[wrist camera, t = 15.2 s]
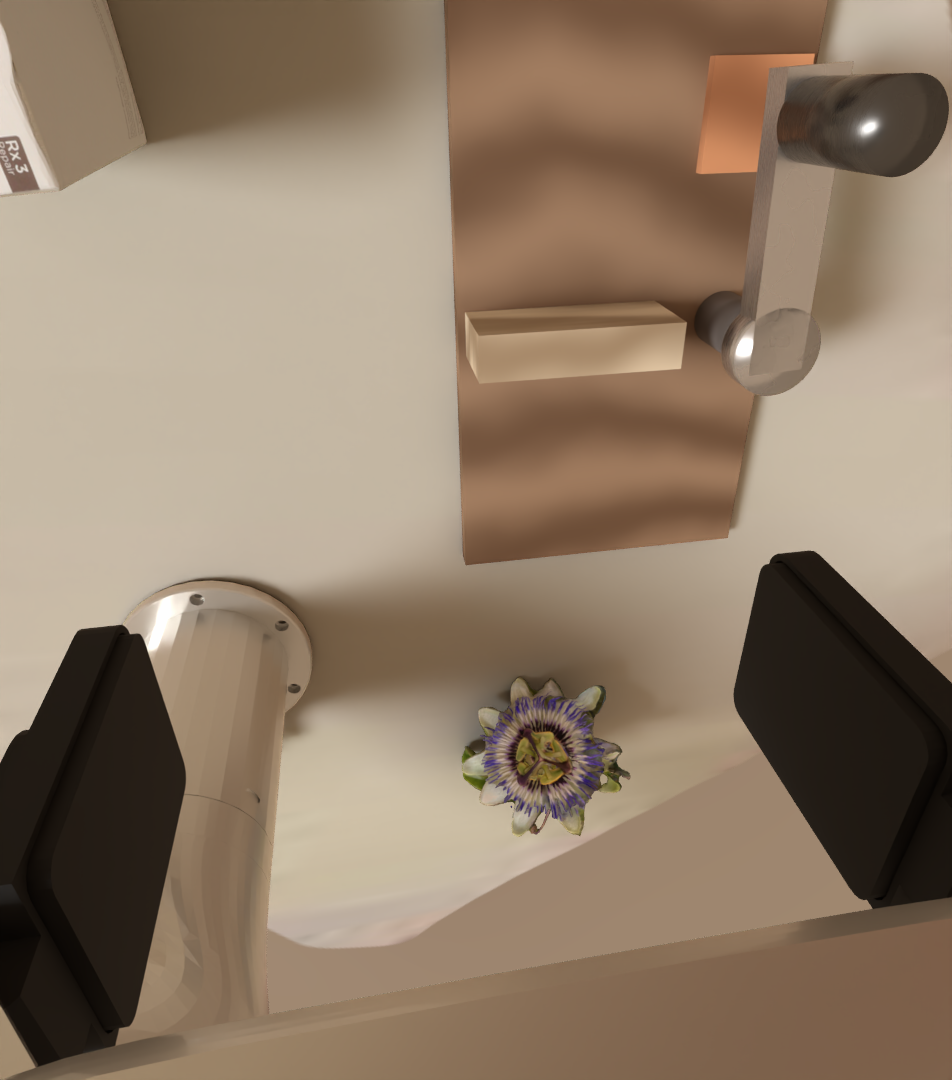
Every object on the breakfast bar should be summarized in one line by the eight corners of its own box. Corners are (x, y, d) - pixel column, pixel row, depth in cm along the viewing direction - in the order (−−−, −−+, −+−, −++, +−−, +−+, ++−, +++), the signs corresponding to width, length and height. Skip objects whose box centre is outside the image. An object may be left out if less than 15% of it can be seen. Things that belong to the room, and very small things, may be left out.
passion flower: (505, 640, 60) (602, 663, 50) (572, 729, 64) (676, 767, 54) (410, 745, 56) (496, 793, 46) (489, 833, 60) (584, 896, 50)
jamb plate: (719, 529, 51) (759, 574, 46) (463, 555, 49) (476, 606, 44) (815, -8, 35) (890, -23, 31) (444, -5, 33) (461, -21, 28)
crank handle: (796, 379, 39) (885, 436, 33) (716, 389, 39) (791, 449, 32) (849, 61, 32) (978, 54, 25) (751, 69, 31) (858, 64, 25)
